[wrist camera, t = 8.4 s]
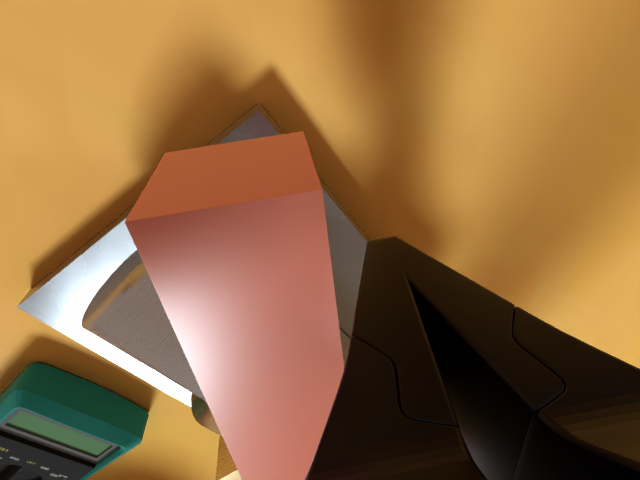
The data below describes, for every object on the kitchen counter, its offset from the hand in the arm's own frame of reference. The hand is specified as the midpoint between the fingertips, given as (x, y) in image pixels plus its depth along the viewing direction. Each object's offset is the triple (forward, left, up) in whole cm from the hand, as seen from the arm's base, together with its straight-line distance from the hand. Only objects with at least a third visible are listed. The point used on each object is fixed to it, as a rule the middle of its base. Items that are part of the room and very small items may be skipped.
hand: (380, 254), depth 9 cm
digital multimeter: (-4, +26, -9) cm, 28 cm away
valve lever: (-3, +5, -1) cm, 6 cm away
